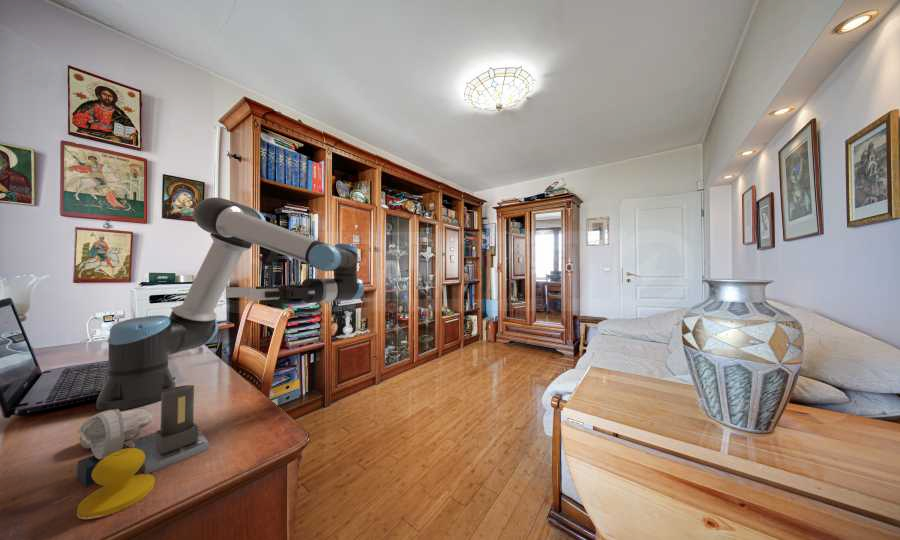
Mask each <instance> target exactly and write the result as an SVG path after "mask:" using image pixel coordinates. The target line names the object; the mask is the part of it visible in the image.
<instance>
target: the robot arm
mask: <svg viewBox="0 0 900 540" xmlns="http://www.w3.org/2000/svg"><path fill="white" fill-rule="evenodd" d="M193 209H194V210H193V219H194V221H195V223H196V224H197V226H198V227H199V228H200V229H202V230H203V231H205V232H207V233H210V234H209V236H210V237H211V239H212V243H211V245H210V247H209V249H208V251H207V253H206V255H205V257H204V260H203V262H202V263H201V265H200V268H199V270H198V272H197V274H196V276H195V277H194V280H193V282H192V284H191V286H190V288H189V289H188V291H187V294H186V296H185V298H184V300H183V301H182V304H179V305H177V306H174V307H173V309H172V310H171V313H170V315H169V316H167V315H148V316H143V317H142V316H139V317H135V318H134V317H133V318H130V319H129V318H128V319H125V320H122V321H118V322H117V323H115V324H113V325H112V326H111V328H110V329H109V337H108V339H107V343H108V361H107V362H108V364H107V365H108V367H107V377H106V381H105V383H104V384H103V386H102V388H101V391H100V393H99V395H98V397H97V399H96V410H97V411H100V412H104V411H108V410H116V409H119V411H121V410H122V411H123V410H130V409H133V408H138V407H142V406H146V405H150V404H153V403H157V402H159V401H161V393H162V392H163V391H165V390H168V389H171V388H174V387H177V385H176V382H175V379H174V377H173V375H172V373H171V370H170V368H169V356H170V355H174V354H177V353H181V352H184V351H188V350H193V349H197V348H200V347H202V346H204V345H207V344H208V343H210V342H211V341H212V340H213V339H214V338H215V337H216V335H217V334H218V331H219V325H218V323H219V322H218V319H217V318H218V317H217V313H216V312H215V309H216V307H217V305H218V304H219V301H220V299H221V297H222V296H223V295H222V294H223V293H224V291H225V289H226V295H225V296H226V297H225V298H227V299H229V298H231V299H233V298H247V302H257V301H271V300H279V299H280V300H292V299H293V300H294V299H301V300H302V301H303V302H304V303H306V304H313V303H314V304H316V303H325V304H328V303H329V302H338V301H340V302H341V301H351V300H358V299H361V297H362V296H363V295H364V292H365V285H364V281H363V280H361V279H360V278H358V256H359V254H358V247H357V245H356V244H352V243H347V242H346V243H344V242H343V243H341V242H340V243H335V244H334V245H331V244H329V243H326V242H323V241H320V240H317V239H315V238H312V237H309V236H306V235H304V234H301V233H298V232H295V231H293V230H290V229H288V228H285V227H282V226H279V225H277V224H273V223H271V222H269V221H267V220H266V217H265V216H264V215H263V214H262V212H260V211H259V210H256V209H255V208H253V207H250V206H249V205H248V206H247V205H244V204H241V203H238V202H234V201H231V200H228V199H226V198H222V197H216V196H215V197H208V198H205V199H202V200H201V201H199V202H198V203H197V204H196V205H195V206H194V208H193ZM253 245H255V246H259V247H261V248H264V249H267V250H269V251H273V252H275V253H278V254H280V255H283V256H286V257H289V258H291V259H294V260H298V261H300V262H302V263H305V264H307V265H308V264H309V266H310V265H311V266H312V267H313V268H314V269H316V270H319V271H321V272H333V278H332V277H331V278H328V277H327V278H323V277H321V278H305V279H304V280H303V281H302V282H301V284H291V285H290V284H288V285H279V286H256V285H255V286H234V287H233V286H231V287H227V285H228V283H229V281H230V279H231V277H232V275H233V273H234V271H235V269H236V266H237V265H238V263H239V261H240V258H241V257H242V255H243V253H244V252H245V251H249V250H250V249H251V248H252V246H253ZM158 400H159V401H158Z"/></svg>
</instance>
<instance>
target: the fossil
mask: <svg viewBox="0 0 900 540" xmlns="http://www.w3.org/2000/svg"><path fill="white" fill-rule="evenodd" d="M121 413H122V417H123V418H122V419H123V425H124V435H125V438H124V442H125V441H128V440H130V439H131V440H133V439H134V438H135V437H136V436H137V435H138V433H139V431H140V430H142V429H143V428H145V427H147V426H149V425H150V424H151V422H152V421H153V418H154V415H155V414H154V412H152V411H151V412H149V411H147V410H145V409H142V408H140V409H137V408H136V409H131V410H130V409H129V410H126V411H121ZM104 441H105V440H104ZM79 442H80V445H81V446H82V448H85V449H92V448H91V445H90V441H87V440H86V438H85V436H84V435H83V433H82V432H81V433H80V436H79ZM101 442H102V441H101Z"/></svg>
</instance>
